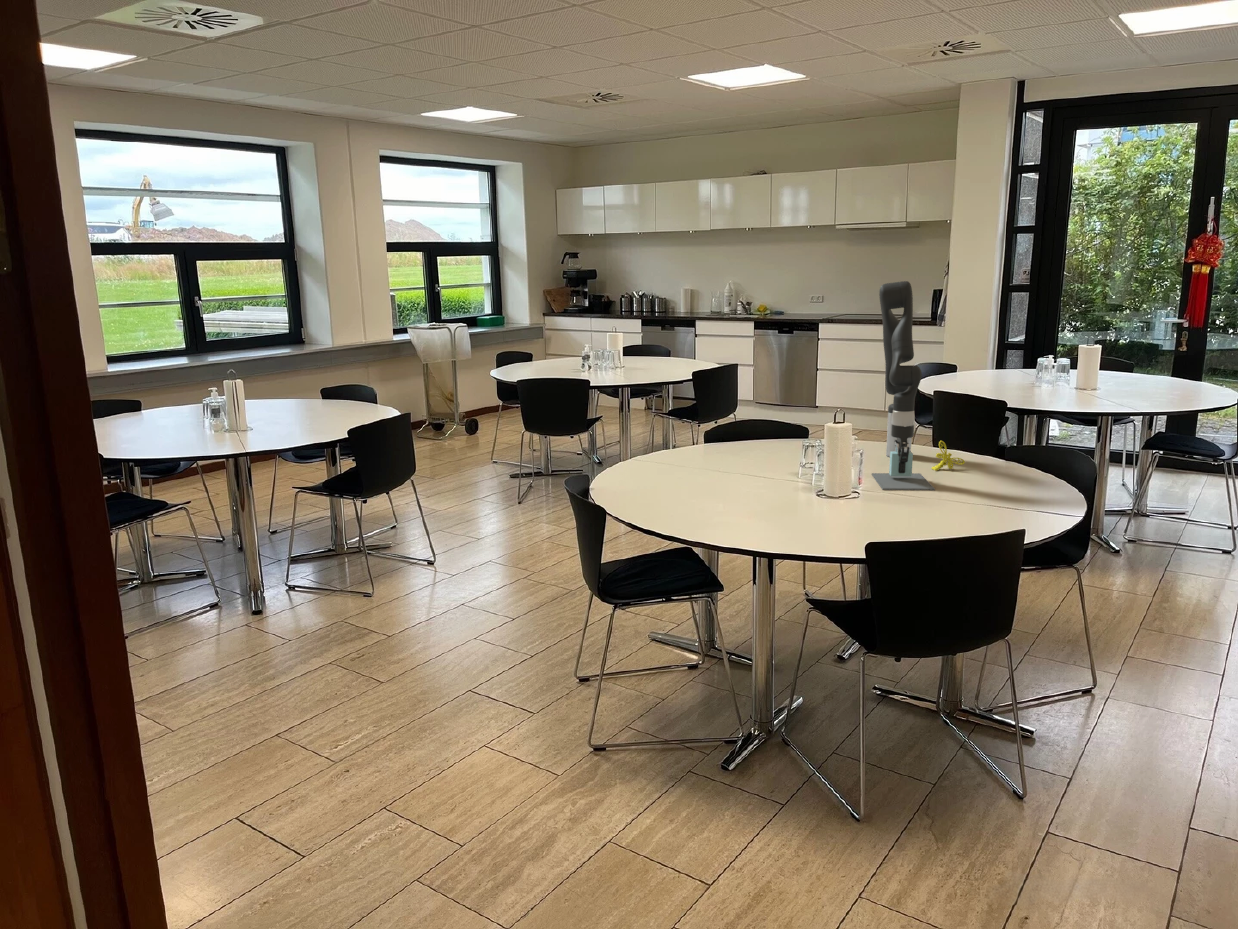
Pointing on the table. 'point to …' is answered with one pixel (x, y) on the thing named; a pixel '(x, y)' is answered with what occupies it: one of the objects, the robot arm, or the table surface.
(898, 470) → the robot arm
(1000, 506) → the table surface
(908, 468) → the pale blue block
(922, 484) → the mat
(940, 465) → the decorative insect
